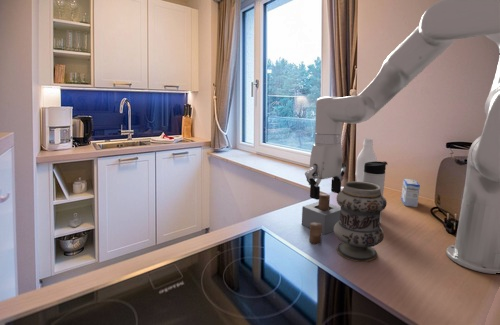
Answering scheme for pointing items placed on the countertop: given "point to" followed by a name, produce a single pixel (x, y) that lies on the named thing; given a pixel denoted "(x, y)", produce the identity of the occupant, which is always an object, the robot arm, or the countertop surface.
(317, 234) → the short pin
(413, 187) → the medicine box
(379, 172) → the travel mug
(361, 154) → the water bottle
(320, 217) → the socket block
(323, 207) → the long pin
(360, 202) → the apothecary jar
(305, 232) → the countertop surface
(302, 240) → the countertop surface
